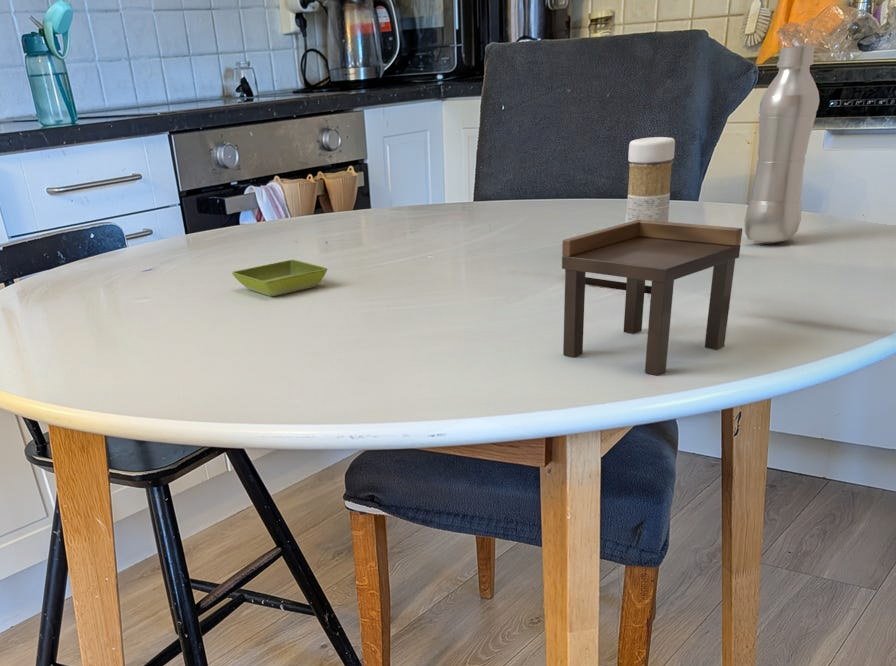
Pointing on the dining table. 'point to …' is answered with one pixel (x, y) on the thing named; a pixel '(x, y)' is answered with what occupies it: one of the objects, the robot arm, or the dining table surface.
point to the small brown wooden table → (650, 277)
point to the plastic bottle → (783, 148)
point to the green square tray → (281, 277)
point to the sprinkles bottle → (649, 178)
